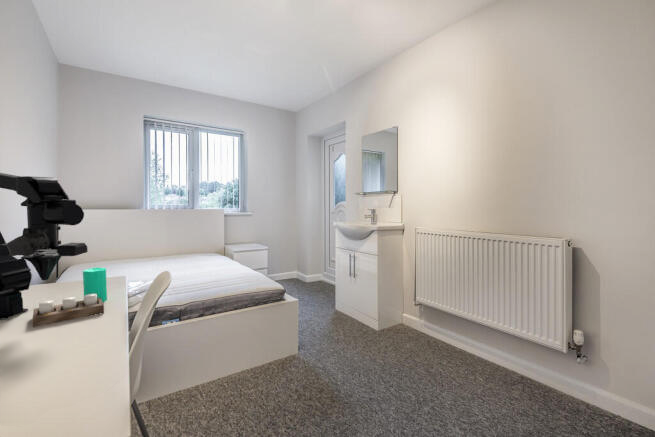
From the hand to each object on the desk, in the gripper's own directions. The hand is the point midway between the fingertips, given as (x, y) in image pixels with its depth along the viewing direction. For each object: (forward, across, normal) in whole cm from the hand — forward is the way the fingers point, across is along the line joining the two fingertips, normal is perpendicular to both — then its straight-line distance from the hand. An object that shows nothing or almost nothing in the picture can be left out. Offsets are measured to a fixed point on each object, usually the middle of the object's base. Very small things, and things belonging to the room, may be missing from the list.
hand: (45, 280), depth 82 cm
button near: (+10, 0, 0) cm, 10 cm away
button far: (+10, +8, +5) cm, 14 cm away
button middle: (+9, +4, +3) cm, 11 cm away
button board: (+11, +4, +3) cm, 12 cm away
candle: (+12, +4, +14) cm, 19 cm away
